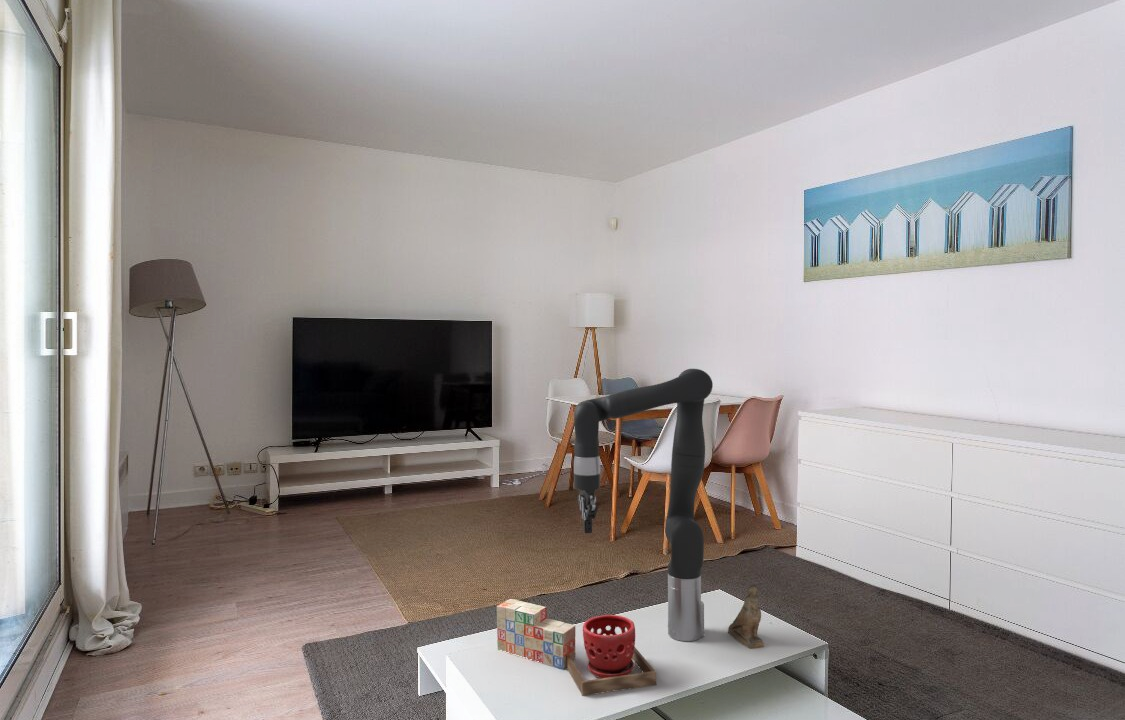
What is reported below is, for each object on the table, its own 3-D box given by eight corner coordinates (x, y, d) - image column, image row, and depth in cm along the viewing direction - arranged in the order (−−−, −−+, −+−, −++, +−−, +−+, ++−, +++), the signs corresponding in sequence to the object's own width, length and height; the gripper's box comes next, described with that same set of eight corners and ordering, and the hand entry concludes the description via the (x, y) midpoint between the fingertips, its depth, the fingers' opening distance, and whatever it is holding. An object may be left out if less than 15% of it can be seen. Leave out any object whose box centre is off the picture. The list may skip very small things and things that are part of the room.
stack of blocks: (576, 660, 172) (575, 613, 172) (563, 670, 166) (562, 622, 166) (510, 641, 183) (510, 597, 183) (496, 650, 178) (496, 605, 178)
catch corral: (634, 658, 173) (634, 646, 173) (656, 684, 159) (656, 672, 159) (566, 667, 168) (566, 655, 168) (582, 695, 154) (582, 682, 154)
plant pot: (607, 654, 175) (607, 609, 175) (646, 671, 165) (646, 624, 165) (572, 671, 166) (572, 623, 166) (610, 690, 156) (610, 640, 156)
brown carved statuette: (763, 655, 179) (772, 595, 175) (745, 657, 178) (753, 597, 174) (742, 628, 190) (750, 572, 186) (725, 630, 189) (732, 573, 185)
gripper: (607, 475, 182) (607, 537, 182) (592, 467, 194) (593, 525, 195) (580, 476, 180) (581, 540, 180) (568, 468, 192) (568, 527, 193)
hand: (587, 532), depth 187 cm, fingers closed
